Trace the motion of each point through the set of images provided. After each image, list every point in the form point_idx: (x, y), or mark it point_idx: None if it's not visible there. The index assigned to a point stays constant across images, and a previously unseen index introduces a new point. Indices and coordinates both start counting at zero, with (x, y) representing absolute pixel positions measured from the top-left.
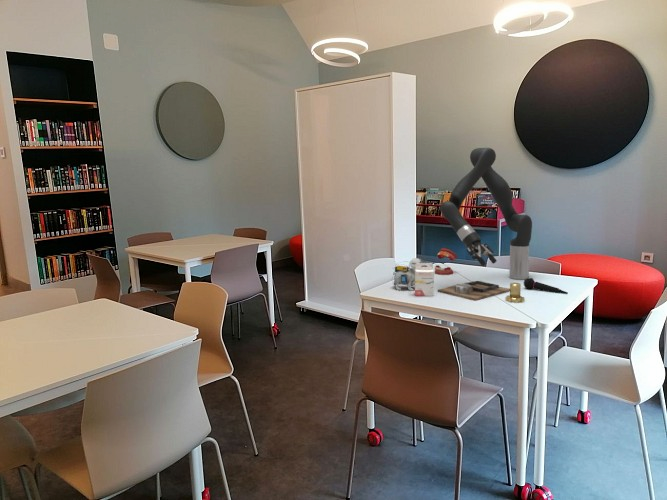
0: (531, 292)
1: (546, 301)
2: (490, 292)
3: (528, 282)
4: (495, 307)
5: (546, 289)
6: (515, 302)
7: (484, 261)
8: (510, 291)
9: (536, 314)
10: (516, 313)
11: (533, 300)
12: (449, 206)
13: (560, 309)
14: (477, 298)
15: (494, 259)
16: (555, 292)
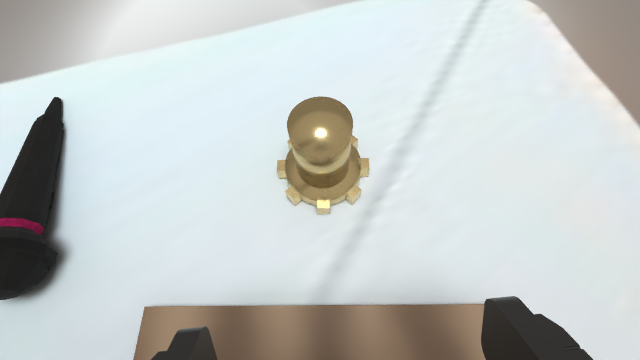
0: (117, 211)
1: (237, 89)
2: (314, 340)
3: (27, 246)
4: (494, 157)
5: (53, 168)
6: (356, 147)
7: (528, 322)
8: (348, 157)
9: (426, 27)
10: (480, 66)
11: (259, 126)
12: None
13: (306, 17)
14: None
15: (193, 358)
16: (61, 139)
